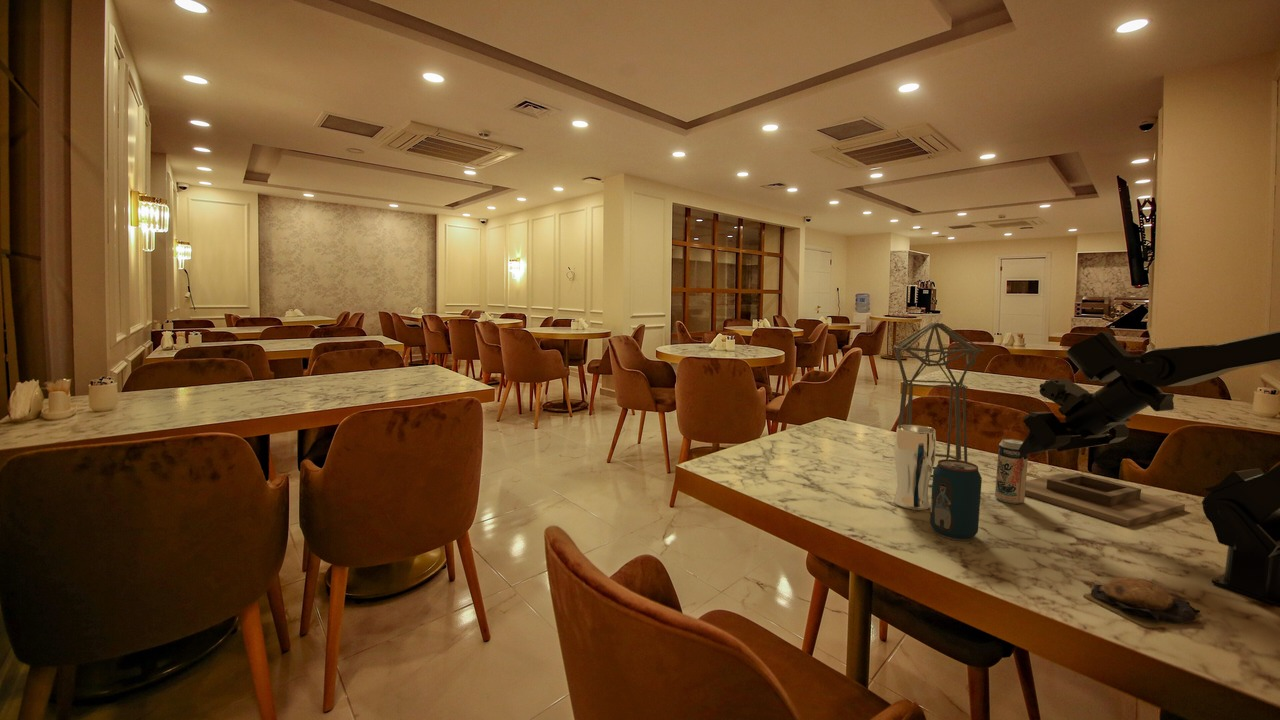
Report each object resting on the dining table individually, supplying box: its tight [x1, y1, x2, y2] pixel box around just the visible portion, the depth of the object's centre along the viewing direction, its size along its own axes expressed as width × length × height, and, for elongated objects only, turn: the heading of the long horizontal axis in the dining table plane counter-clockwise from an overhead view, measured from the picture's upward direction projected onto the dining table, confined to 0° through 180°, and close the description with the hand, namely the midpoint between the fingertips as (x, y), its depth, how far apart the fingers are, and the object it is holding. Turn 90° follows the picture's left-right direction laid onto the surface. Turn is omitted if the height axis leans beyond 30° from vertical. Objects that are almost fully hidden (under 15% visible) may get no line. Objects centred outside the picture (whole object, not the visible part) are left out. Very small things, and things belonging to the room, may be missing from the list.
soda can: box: [929, 458, 983, 542], centre depth 86 cm, size 7×7×12 cm
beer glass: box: [893, 424, 937, 511], centre depth 99 cm, size 7×7×15 cm
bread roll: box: [1083, 576, 1204, 630], centre depth 66 cm, size 11×8×4 cm
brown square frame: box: [1025, 472, 1186, 528], centre depth 103 cm, size 20×20×3 cm
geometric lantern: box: [892, 322, 985, 488], centre depth 112 cm, size 16×16×35 cm
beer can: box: [994, 438, 1029, 505], centre depth 102 cm, size 5×5×12 cm
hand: (1038, 450), depth 97 cm, fingers open, 9 cm apart
